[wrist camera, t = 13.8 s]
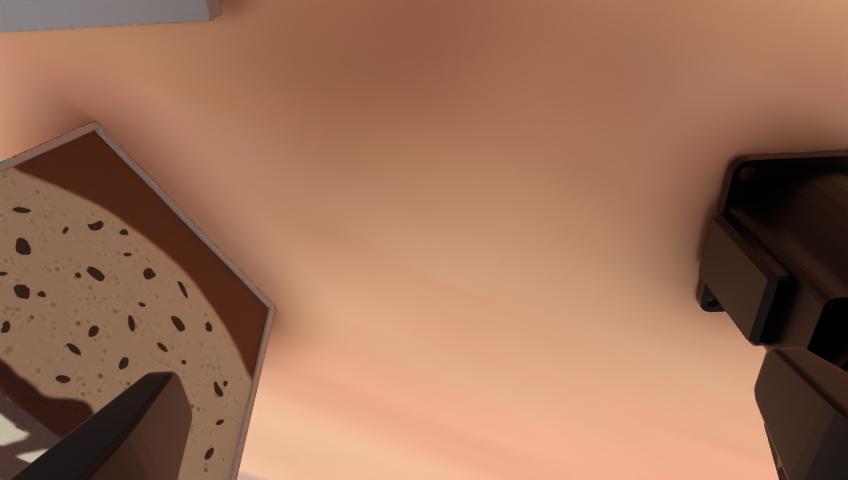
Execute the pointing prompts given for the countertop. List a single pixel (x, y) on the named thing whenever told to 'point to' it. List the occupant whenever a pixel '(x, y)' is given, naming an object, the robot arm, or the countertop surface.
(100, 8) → the stand
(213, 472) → the food container
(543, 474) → the countertop surface
